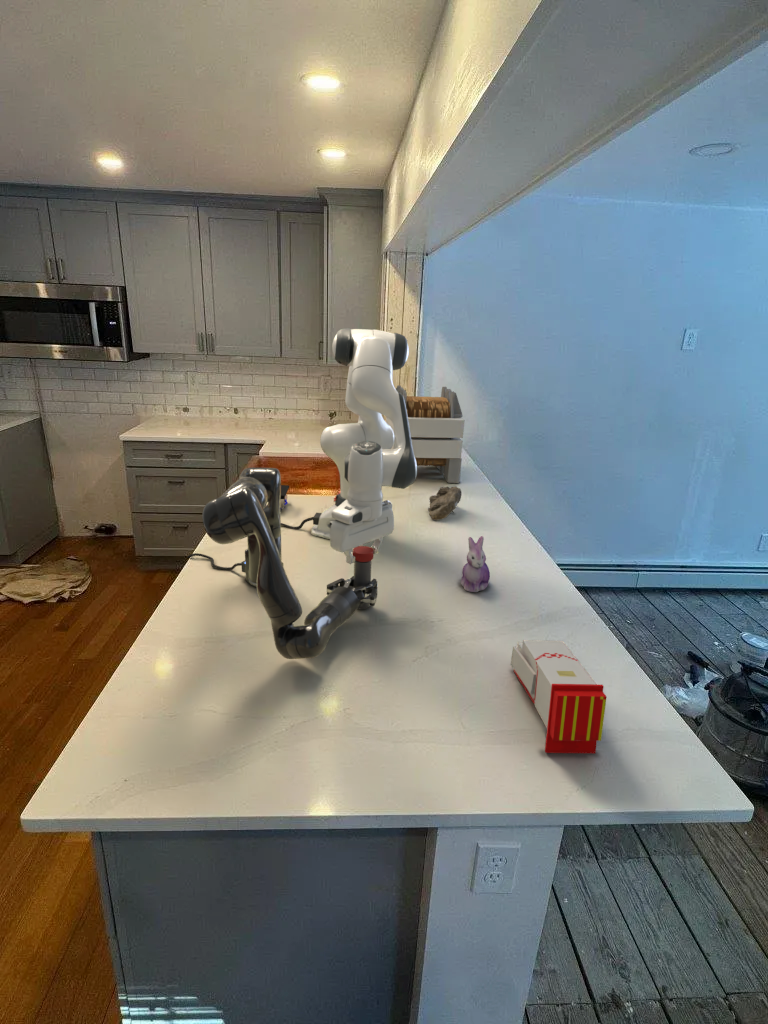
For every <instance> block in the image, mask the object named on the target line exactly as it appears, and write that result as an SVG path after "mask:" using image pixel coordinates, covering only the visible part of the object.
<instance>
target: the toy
mask: <svg viewBox="0 0 768 1024" xmlns="http://www.w3.org/2000/svg"><path fill="white" fill-rule="evenodd" d="M510 666H511V667H512V669H513V673H514V674H515V676H516V677H517V680H518V681H519V682H520V684H521V686H522V687H523V689H524V690H525V692H526V694H527V696H528V697H529V699H530V700H531V702H532V703H533V705H534V707H535V710H536V711H537V713H538V714H539V717H540V718H541V720H542V722H543V724H544V726H545V728H546V734H545V735H546V736H545V745H544V752H545V754H596V752H597V743H598V742H601V741H602V737H603V729H604V720H605V713H606V705H607V695H606V693H605V692H604V687H605V686H604V685H603V684H598V683H597V682H596V681H595V679H593V677H592V676H591V674H589V672H588V671H587V670H586V668H585V666H583V664H582V663H581V662H580V661H579V660H578V658H577V656H576V655H575V654H574V653H573V651H572V650H571V649H570V648H569V646H568V645H567V644H566V643H565V642H564V641H563V640H539V639H538V640H537V639H536V640H535V639H534V640H533V639H532V640H530V639H529V640H528V639H523V640H522V641H517V643H516V646H512V652H511V659H510Z"/></svg>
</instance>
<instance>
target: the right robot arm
mask: <svg viewBox="0 0 768 1024" xmlns="http://www.w3.org/2000/svg"><path fill="white" fill-rule="evenodd" d="M331 345H332V346H331V349H332V354H333V357H334V360H335V362H336V363H337V364H339V365H342V366H345V367H348V372H347V378H346V389H345V398H344V402H345V405H346V408H347V409H348V410H349V412H352V413H353V414H355V415H356V416H358V420H357V422H349V423H337V424H334V425H331V426H327V427H325V428H324V429H323V430H322V432H321V435H320V439H319V443H320V448H321V450H322V452H323V453H324V454H325V455H326V456H327V457H328V458H330V459H331V460H332V461H333V462H334V464H335V465H336V467H337V470H338V473H339V483H340V484H339V485H340V488H339V489H340V490H339V491H338V492H337V494H336V495H335V496H334V497H333V502H334V504H333V505H331V506H329V507H328V508H326V509H325V510H323V512H315V514H314V515H313V516H312V517H311V516H310V517H308V518H305V519H303V520H302V521H301V522H300V524H299V525H297V526H292V525H289V524H286V523H283V522H281V527H284V528H285V529H286V528H287V529H291V530H300V529H301V528H303V526H304V525H305V524H306V523H307V522H311V521H312V525H313V526H312V528H311V530H310V533H311V536H315V537H319V538H323V539H326V540H329V544H330V547H331V549H332V550H334V551H336V552H338V553H341V554H342V553H343V554H344V556H345V557H346V558H345V561H346V563H347V564H349V565H353V564H354V562H355V556H353V549H354V548H355V547H358V546H364V545H365V544H368V543H372V542H373V543H372V545H371V546H370V547H371V548H372V549H373V552H374V555H376V554H378V553H380V547H381V545H382V543H383V541H384V537H387V536H389V535H391V534H393V532H394V531H395V517H394V510H393V503H392V502H391V501H390V500H388V499H386V500H383V498H384V494H383V489H382V488H383V487H388V488H389V487H391V488H395V489H402V490H405V489H406V488H408V487H410V486H411V485H412V484H413V483H415V482H416V479H417V476H418V466H417V463H416V459H415V456H414V452H413V447H412V441H411V435H410V428H409V422H408V415H407V410H406V404H405V400H404V397H403V395H402V394H401V393H399V392H397V390H396V386H395V385H394V382H393V371H397V370H401V369H402V368H403V367H404V366H405V365H406V363H407V361H408V358H409V354H410V353H409V352H410V349H409V344H408V339H407V338H406V336H405V335H403V334H401V333H397V332H388V331H386V330H380V329H374V328H373V329H364V328H350V327H345V328H340V329H339V330H338V331H336V334H335V336H334V337H333V340H332V344H331ZM384 417H385V418H386V417H388V418H389V419H390V420H391V421H392V423H393V425H394V430H395V436H394V432H393V430H392V428H391V427H390V425H388V424H387V423H386V420H385V419H384ZM395 437H396V444H397V448H396V449H394V450H391V448H392V447H393V444H394V440H395Z"/></svg>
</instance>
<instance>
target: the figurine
mask: <svg viewBox="0 0 768 1024" xmlns="http://www.w3.org/2000/svg"><path fill="white" fill-rule="evenodd" d="M467 539H468V551H467V553H466V563H465V564H464V565H463V567H462V571H461V580H460V584H461V586H462V587H463V589H464V590H465V591H466V592H470V593H478V592H479V591H480V592H481V591H484V590H486V589H487V588H488V586H489V583H490V578H491V573H490V569H489V566H488V564H487V563H486V561H487V555H486V553H485V551H484V549H483V547H484V540H485V539H484V535H481V536H480V537H478V539H477V541H476V542H475V540H474V539H473V537H471V536H468V538H467Z"/></svg>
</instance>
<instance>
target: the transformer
mask: <svg viewBox="0 0 768 1024" xmlns="http://www.w3.org/2000/svg"><path fill="white" fill-rule="evenodd" d="M395 389H396V390H397V392H399V393H401V394H402V395H403V397H404V400H405V404H406V410H407V415H408V422H409V428H410V435H411V441H412V447H413V452H414V456H415V459H416V463H417V467H436V468H437V470H438V469H439V473H440V474H441V475H443V478H444V479H445V481H446V482H447V483H449V484H455V483H456V484H459V483H461V472H462V461H463V460H462V453H463V442H464V441H463V440H462V439H463V438H464V431H465V430H464V429H465V419H464V418H463V411H462V408H461V405H460V402H459V398H458V395H457V392H455V391H453V390H452V389H451V388H447V386H442V387H441V392H440V393H441V394H440V396H415V395H414V396H413V395H412V396H411V395H407V394H408V393H407V390H406V389H404V388H403V387H402V385H399V384H398V385H397V386H396V387H395ZM385 422H386V423H387V424H388V425H390V427H391V428H392V430H393V432H394V436H395V430H394V425H393V423H392V421H391V420H390V419H389V418H388V417H386V416H385ZM396 448H397V444H396V437H395V440H394V444H393V447H392V448H391V450H394V449H396Z"/></svg>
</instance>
